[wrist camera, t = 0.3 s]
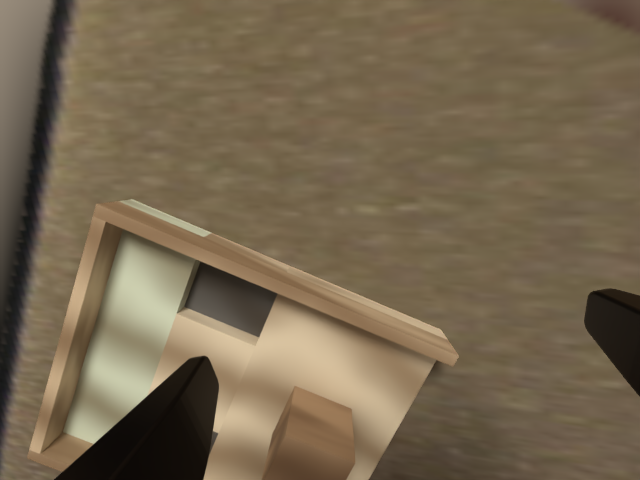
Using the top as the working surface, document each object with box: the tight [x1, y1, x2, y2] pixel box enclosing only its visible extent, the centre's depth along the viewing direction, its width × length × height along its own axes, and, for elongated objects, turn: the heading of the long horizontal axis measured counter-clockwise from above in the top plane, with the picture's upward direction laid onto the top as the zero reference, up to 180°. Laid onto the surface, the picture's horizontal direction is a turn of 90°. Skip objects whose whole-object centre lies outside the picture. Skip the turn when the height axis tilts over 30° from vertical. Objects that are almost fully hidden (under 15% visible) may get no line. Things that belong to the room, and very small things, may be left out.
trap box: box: [27, 199, 459, 480], centre depth 23 cm, size 20×24×4 cm
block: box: [262, 386, 355, 480], centre depth 22 cm, size 4×4×4 cm
